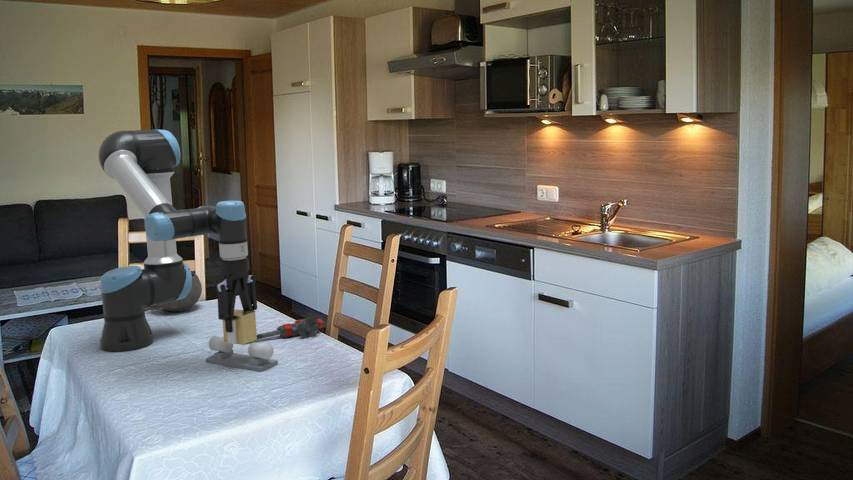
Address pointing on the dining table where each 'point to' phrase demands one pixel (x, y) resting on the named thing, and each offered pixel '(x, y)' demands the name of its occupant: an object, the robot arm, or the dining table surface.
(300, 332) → the valve
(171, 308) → the bowl
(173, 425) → the dining table surface
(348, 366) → the dining table surface
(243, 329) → the cardboard box
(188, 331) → the dining table surface
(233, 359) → the shaft bed
